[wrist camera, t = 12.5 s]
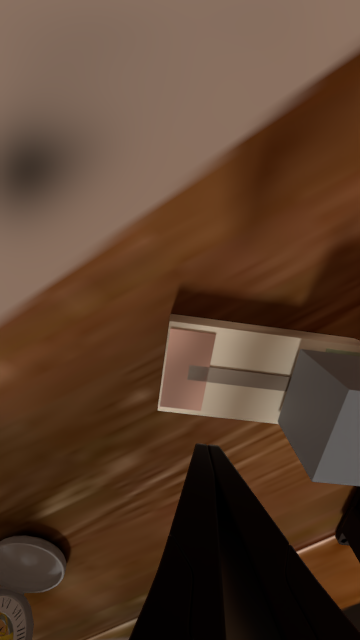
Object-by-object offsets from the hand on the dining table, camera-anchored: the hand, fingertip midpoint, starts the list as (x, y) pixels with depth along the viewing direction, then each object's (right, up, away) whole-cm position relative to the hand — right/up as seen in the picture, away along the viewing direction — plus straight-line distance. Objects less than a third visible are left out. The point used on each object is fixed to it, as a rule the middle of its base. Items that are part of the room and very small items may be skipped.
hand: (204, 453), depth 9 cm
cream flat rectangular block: (+4, +2, +7) cm, 9 cm away
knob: (+8, +1, +6) cm, 9 cm away
